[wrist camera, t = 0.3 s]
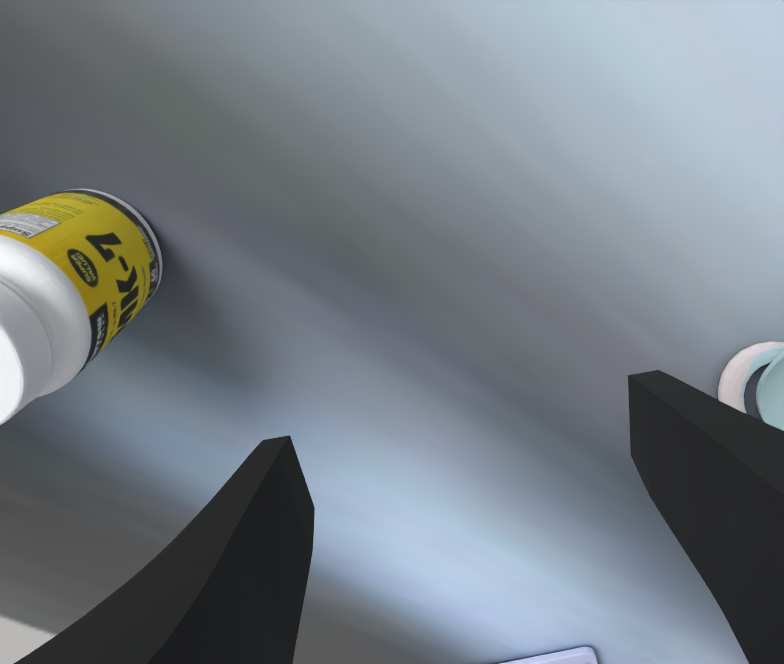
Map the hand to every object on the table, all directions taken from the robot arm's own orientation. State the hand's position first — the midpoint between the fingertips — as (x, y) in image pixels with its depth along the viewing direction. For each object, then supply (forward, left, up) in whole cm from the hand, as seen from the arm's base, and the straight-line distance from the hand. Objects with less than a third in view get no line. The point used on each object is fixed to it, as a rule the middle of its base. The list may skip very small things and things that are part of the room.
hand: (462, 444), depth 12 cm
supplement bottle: (+4, +11, -10) cm, 16 cm away
